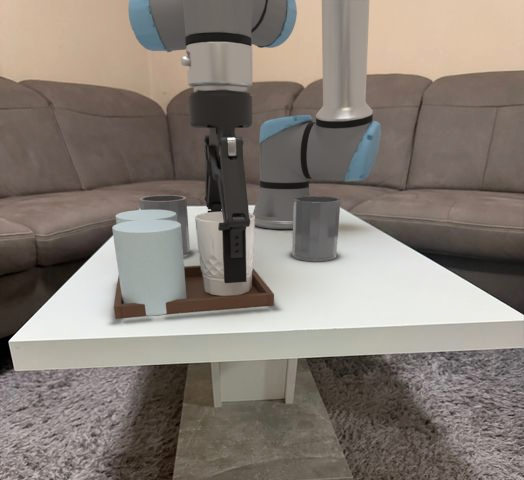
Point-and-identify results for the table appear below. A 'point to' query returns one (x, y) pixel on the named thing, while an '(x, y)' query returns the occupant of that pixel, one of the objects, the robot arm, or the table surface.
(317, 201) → the grey cup
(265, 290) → the tray
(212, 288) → the white cup
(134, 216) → the blue round block
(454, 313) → the table surface
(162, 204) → the grey cup
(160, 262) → the pale blue cylinder
